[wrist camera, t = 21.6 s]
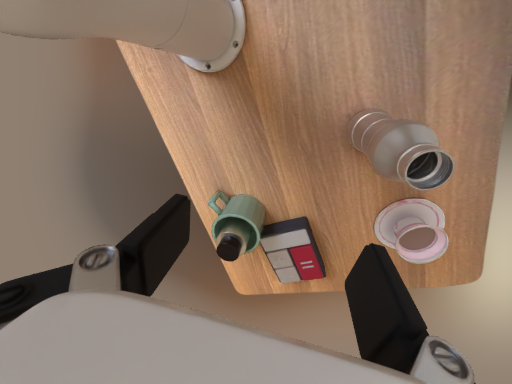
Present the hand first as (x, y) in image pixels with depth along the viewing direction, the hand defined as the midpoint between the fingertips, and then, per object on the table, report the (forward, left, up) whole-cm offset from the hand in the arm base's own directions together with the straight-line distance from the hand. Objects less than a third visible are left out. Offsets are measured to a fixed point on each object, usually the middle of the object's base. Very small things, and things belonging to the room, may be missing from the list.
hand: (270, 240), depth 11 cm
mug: (0, -20, -30) cm, 36 cm away
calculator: (+15, -22, -30) cm, 40 cm away
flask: (+1, -20, -29) cm, 36 cm away
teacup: (+29, -3, -30) cm, 42 cm away
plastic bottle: (+10, +7, -30) cm, 32 cm away
